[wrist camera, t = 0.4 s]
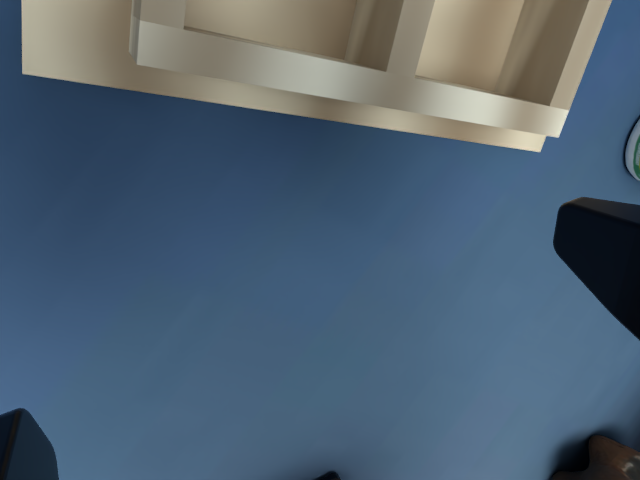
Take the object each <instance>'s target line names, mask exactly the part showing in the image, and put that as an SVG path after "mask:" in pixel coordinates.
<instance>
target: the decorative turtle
mask: <svg viewBox="0 0 640 480" xmlns="http://www.w3.org/2000/svg"><path fill="white" fill-rule="evenodd" d="M589 457H590V463H589V467H588V468H587V469H586V470H584V471H580V472H566V471H559V472H557V473H556V474H554V475H553V477H552V480H640V452H637V451H635V450H633V449H632V448H630V447H628V446H625V445H622V444H620V443H618V442H616V441H614V440H611V439H609V438H607V437H605V436H601V435H594V436H592V437H591V438H590V440H589Z"/></svg>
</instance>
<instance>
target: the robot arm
mask: <svg viewBox="0 0 640 480" xmlns="http://www.w3.org/2000/svg"><path fill="white" fill-rule="evenodd" d="M553 245H554V249H555V251H556V253H557V254H558V256H559V257H560V258H561V259H562V260H563V261H564V262H565V264H566V265H567V266H568V267H569V268H570V269H571V270H572V271H573V272H574V273H575V275H576V276H577V277H578V278H579V279H580V280H581V281H582V282H583V283H584V284H585V286H586V287H587V288H588V289H589V290H590V291H591V292H592V293H593V294H594V296H595V297H596V298H597V299H598V300H599V301H600V302H601V303H602V304H603V305H604V307H605V308H606V309H607V310H608V311H609V312H610V313H611V314H612V315H613V316H614V317H615V318H616V319H617V320H618V321H619V322H620V323H621V324H622V325H623V326H625V327H626V328H627V329H628V330H629V331H630V332H631V333H632V334H633V335H634V336H635V337H637V338H638V339H639V340H640V205H635V204H628V203H621V202H615V201H608V200H601V199H594V198H587V197H581V198H577V199H574V200H572V201H569V202H566V203H564V204H563V205H561V207H560V208H559V210H558V214H557V221H556V227H555V233H554V239H553ZM0 480H59V477H58V469H57V461H56V455H55V452H54V449H53V446H52V444H51V443H50V441H49V440H48V438H47V437H46V435H45V434H44V432H43V431H42V430H41V428H40V427H39V425H38V424H37V422H36V421H35V420H34V418H33V417H32V415H31V414H30V413H29V412H28V411H27V410H26V409H23V408H18V409H15V410H12V411H10V412H7V413H4V414H2V415H0ZM321 480H341V479H340V477H339V475H338V474H337V473H332V474H330V475H328V476H326V477H324V478H322V479H321Z"/></svg>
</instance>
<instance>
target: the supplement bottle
mask: <svg viewBox="0 0 640 480" xmlns="http://www.w3.org/2000/svg"><path fill="white" fill-rule="evenodd" d="M625 159H626V166H627V168H628V170H629V172H630V173H631V174H632V175H633V177H634V178H636V179H637V180H639V181H640V119H639V120H638V122H637V123H636V125H635V127H634V129H633V131H632V133H631V135H630V138H629V140H628V143H627V147H626V153H625Z"/></svg>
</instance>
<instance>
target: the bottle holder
mask: <svg viewBox="0 0 640 480" xmlns="http://www.w3.org/2000/svg"><path fill="white" fill-rule="evenodd" d="M611 1H612V0H22V74H27V75H34V76H40V77H47V78H53V79H60V80H67V81H73V82H80V83H86V84H93V85H100V86H106V87H113V88H119V89H126V90H133V91H139V92H146V93H152V94H159V95H166V96H172V97H179V98H185V99H192V100H199V101H205V102H212V103H218V104H225V105H232V106H238V107H245V108H251V109H258V110H265V111H271V112H278V113H285V114H291V115H298V116H304V117H311V118H318V119H324V120H331V121H337V122H344V123H351V124H357V125H364V126H370V127H377V128H384V129H390V130H397V131H403V132H410V133H417V134H423V135H430V136H436V137H443V138H450V139H456V140H463V141H469V142H476V143H483V144H489V145H496V146H502V147H509V148H516V149H522V150H529V151H535V152H540V151H541V148H542V146H543V143H544V141H545V138H546V136H552V137H558V138H559V135H560V132H561V130H562V127H563V125H564V122H565V120H566V117H567V114H568V112H569V109H570V107H571V104H572V102H573V99H574V96H575V94H576V91H577V89H578V86H579V84H580V81H581V78H582V76H583V73H584V71H585V68H586V66H587V63H588V60H589V58H590V55H591V53H592V50H593V48H594V45H595V42H596V40H597V37H598V35H599V32H600V30H601V27H602V24H603V22H604V19H605V17H606V14H607V12H608V9H609V6H610V4H611Z"/></svg>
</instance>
